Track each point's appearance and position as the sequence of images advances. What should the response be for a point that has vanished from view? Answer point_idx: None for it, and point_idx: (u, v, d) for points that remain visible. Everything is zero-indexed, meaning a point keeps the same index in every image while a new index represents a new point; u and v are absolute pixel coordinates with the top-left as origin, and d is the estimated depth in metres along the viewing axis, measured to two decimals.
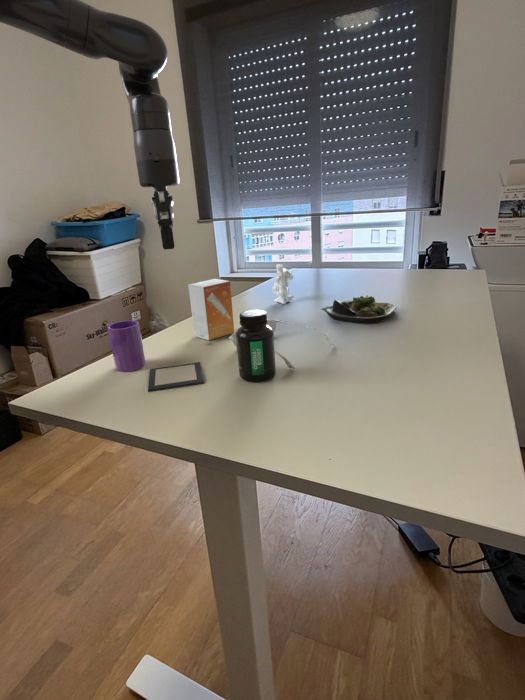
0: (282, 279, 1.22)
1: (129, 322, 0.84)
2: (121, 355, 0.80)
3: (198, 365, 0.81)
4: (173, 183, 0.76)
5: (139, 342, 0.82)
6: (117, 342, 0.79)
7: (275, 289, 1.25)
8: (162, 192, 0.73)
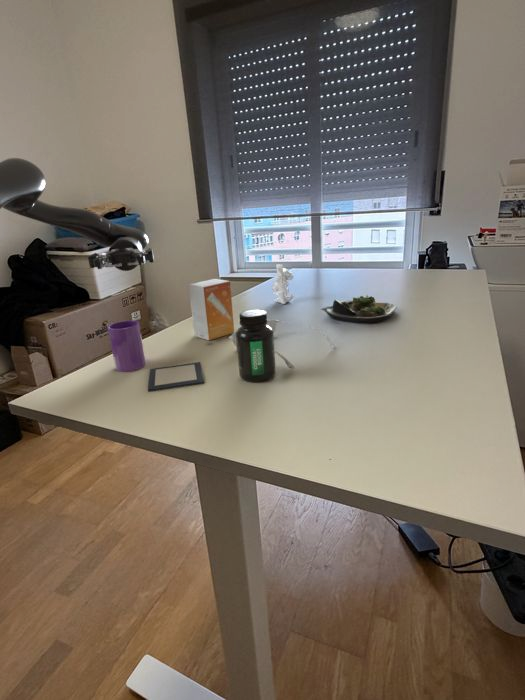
0: (282, 279, 1.22)
1: (129, 322, 0.84)
2: (121, 355, 0.80)
3: (198, 365, 0.81)
4: (136, 264, 0.99)
5: (139, 342, 0.82)
6: (117, 342, 0.79)
7: (275, 289, 1.25)
8: None
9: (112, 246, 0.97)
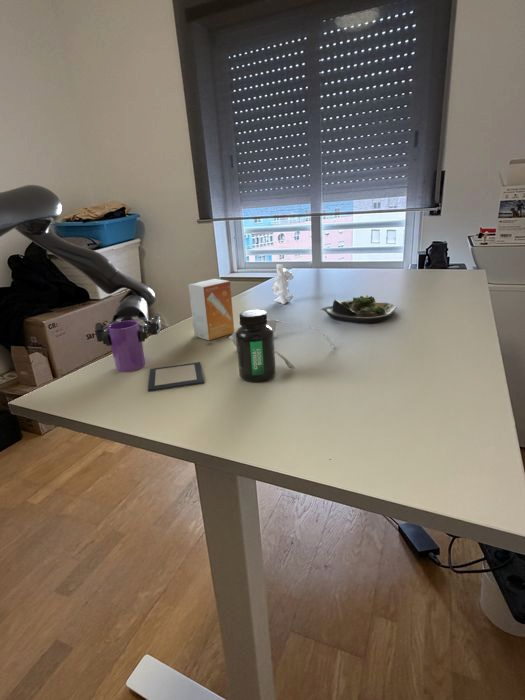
0: (282, 279, 1.22)
1: (129, 322, 0.84)
2: (121, 355, 0.80)
3: (198, 365, 0.81)
4: None
5: (139, 342, 0.82)
6: (117, 342, 0.79)
7: (275, 289, 1.25)
8: (160, 322, 0.91)
9: (117, 313, 0.90)
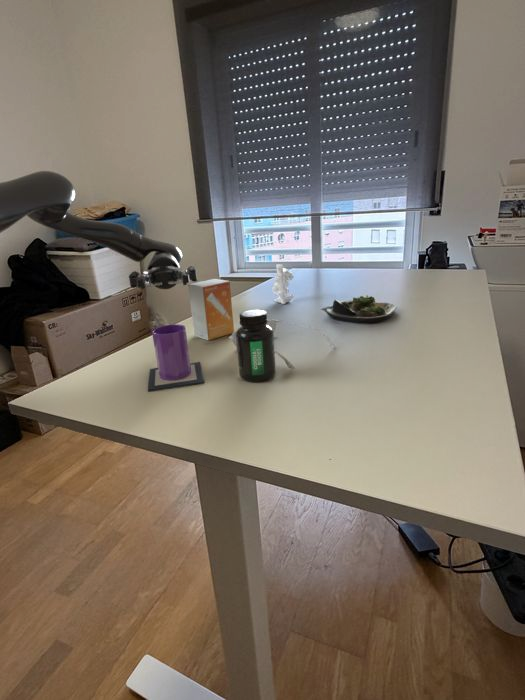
0: (282, 279, 1.22)
1: (174, 326, 0.77)
2: (167, 362, 0.74)
3: (198, 365, 0.81)
4: None
5: (186, 348, 0.75)
6: (163, 348, 0.73)
7: (275, 289, 1.25)
8: None
9: (152, 264, 0.92)
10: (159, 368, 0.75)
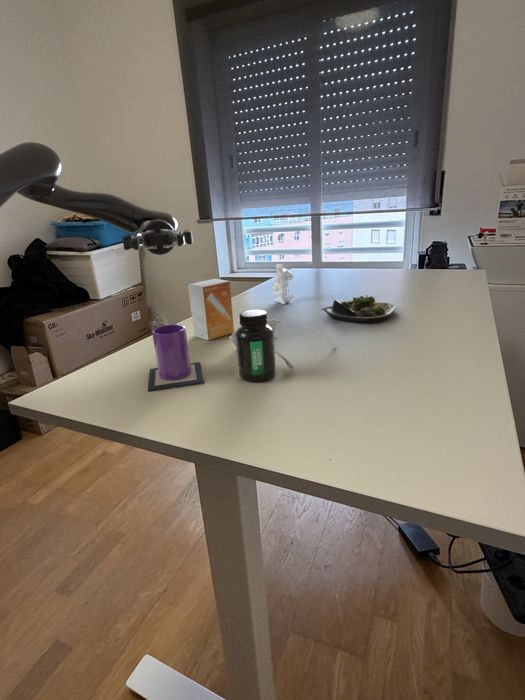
0: (282, 279, 1.22)
1: (174, 326, 0.77)
2: (167, 362, 0.74)
3: (198, 365, 0.81)
4: (171, 248, 0.92)
5: (186, 348, 0.75)
6: (163, 348, 0.73)
7: (275, 289, 1.25)
8: None
9: (146, 227, 0.90)
10: (159, 368, 0.75)
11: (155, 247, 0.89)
